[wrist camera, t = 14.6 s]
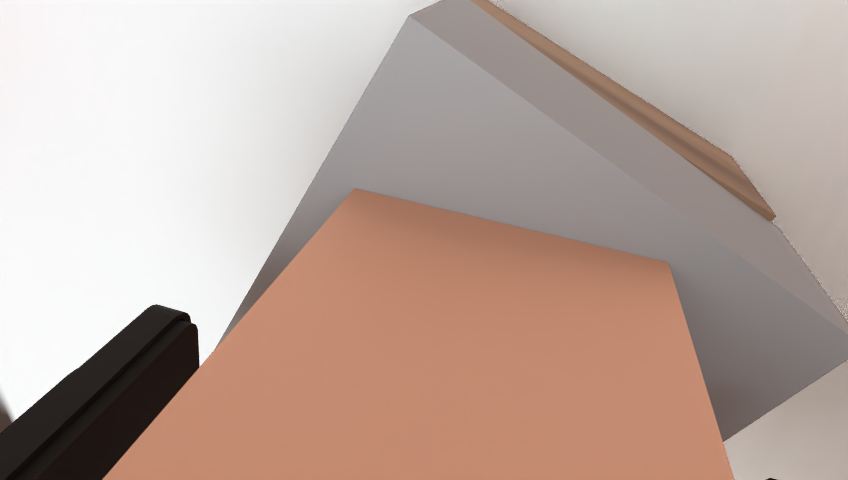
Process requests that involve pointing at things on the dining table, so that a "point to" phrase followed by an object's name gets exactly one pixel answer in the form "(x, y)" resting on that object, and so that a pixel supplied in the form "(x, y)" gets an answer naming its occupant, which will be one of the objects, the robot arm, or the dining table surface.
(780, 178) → the dining table surface
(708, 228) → the slate slab
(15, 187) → the dining table surface
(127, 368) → the robot arm
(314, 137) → the dining table surface
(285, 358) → the terracotta block
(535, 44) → the walnut slab
